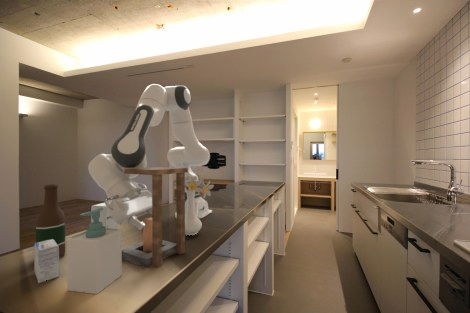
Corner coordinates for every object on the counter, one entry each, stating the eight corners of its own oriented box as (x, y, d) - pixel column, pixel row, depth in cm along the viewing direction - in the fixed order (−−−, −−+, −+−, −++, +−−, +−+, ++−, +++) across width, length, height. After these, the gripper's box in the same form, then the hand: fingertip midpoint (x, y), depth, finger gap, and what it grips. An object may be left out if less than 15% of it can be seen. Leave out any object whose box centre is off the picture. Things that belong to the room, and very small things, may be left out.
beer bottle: (41, 265, 65) (41, 186, 66) (30, 259, 69) (30, 185, 69) (70, 255, 72) (70, 183, 72) (59, 250, 76) (59, 182, 76)
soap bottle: (65, 291, 53) (65, 213, 53) (95, 272, 61) (95, 205, 61) (96, 295, 51) (96, 214, 51) (122, 275, 60) (122, 206, 60)
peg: (150, 251, 75) (150, 216, 75) (158, 253, 73) (158, 218, 73) (140, 255, 72) (140, 219, 72) (148, 258, 70) (148, 221, 70)
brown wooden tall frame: (156, 242, 83) (155, 167, 83) (188, 251, 75) (187, 168, 75) (120, 258, 70) (119, 168, 70) (154, 270, 62) (153, 170, 62)
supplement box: (105, 236, 89) (105, 206, 90) (90, 235, 91) (90, 205, 91) (118, 230, 97) (118, 202, 97) (104, 229, 98) (104, 202, 98)
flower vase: (206, 241, 84) (206, 177, 84) (165, 236, 89) (165, 176, 90) (218, 230, 97) (217, 174, 97) (181, 226, 102) (181, 173, 102)
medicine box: (59, 277, 59) (59, 245, 59) (37, 284, 56) (37, 250, 56) (54, 267, 64) (54, 238, 64) (33, 273, 61) (33, 242, 61)
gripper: (108, 191, 63) (138, 226, 62) (147, 184, 84) (170, 210, 82) (95, 206, 64) (124, 241, 62) (136, 195, 84) (159, 221, 82)
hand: (151, 223), depth 72 cm, fingers open, 8 cm apart
